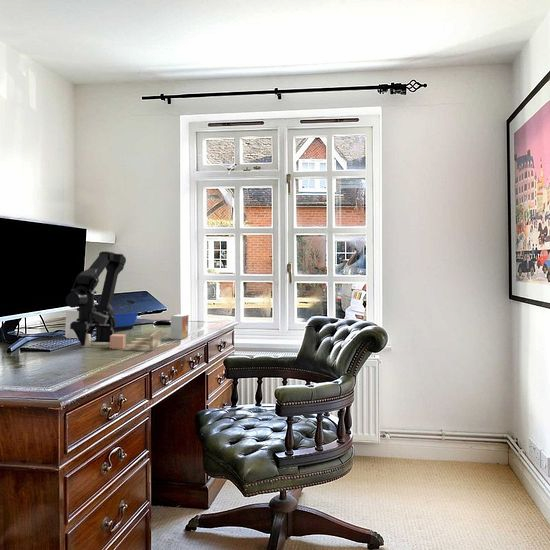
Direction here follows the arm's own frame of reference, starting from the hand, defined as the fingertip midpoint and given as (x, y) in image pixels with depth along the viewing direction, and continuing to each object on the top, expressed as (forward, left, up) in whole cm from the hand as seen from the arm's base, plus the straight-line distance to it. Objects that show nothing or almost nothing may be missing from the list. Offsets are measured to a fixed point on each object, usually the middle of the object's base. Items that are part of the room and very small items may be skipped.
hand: (85, 344), depth 203 cm
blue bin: (-1, +50, -2) cm, 50 cm away
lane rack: (+22, +4, -1) cm, 23 cm away
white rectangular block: (-12, +24, -1) cm, 27 cm away
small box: (+33, +29, -1) cm, 44 cm away
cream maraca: (+7, 0, -1) cm, 7 cm away
